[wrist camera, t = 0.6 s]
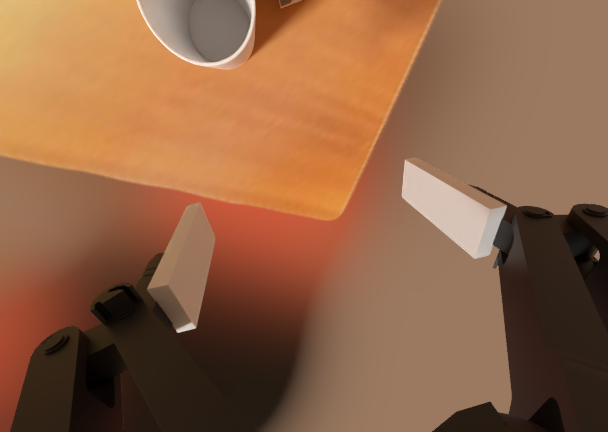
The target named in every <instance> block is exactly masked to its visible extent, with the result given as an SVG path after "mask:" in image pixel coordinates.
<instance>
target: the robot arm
mask: <svg viewBox="0 0 608 432" xmlns="http://www.w3.org/2000/svg"><path fill="white" fill-rule="evenodd" d="M402 198H404V199H405V200H406V201H407V202H408V203H409V204H411V205H412V206H413V207H414V208H415V209H416V210H418V211H419V212H420V213H421V214H423V215H424V216H425V217H426V218H427V219H428V220H429V221H431V222H432V223H433V224H434V225H435V226H437V227H438V228H439V229H440V230H441V231H443V232H444V233H445V234H446V235H447V236H448V237H450V238H451V239H452V240H453V241H454V242H455V243H457V244H458V245H459V246H460V247H461V248H463V249H464V250H465V251H466V252H467V253H469V254H470V255H471V256H472V257H473V258H474V259H475V258H480V257H484V256H488V255H490V252H491V249H492V246H493V245H494V246H496V247H497V248H498V249H500V250H499V253H498V255H497V258H496V261H495V263H494V266H493V268H496V267H497V265H498V266H499V275H500V285H501V294H502V303H503V314H504V323H505V333H506V342H507V352H508V361H509V371H510V380H511V390H512V401H511V406H510V411H509V414H504V413H498V412H497V410H496V409H495V408H494V406H493V405H492V403H491V402H487V403H484V404H481V405H477V406H474V407H471V408H467V409H464V410H461V411H458V412H456V413H454V414H453V415H452V416H451V417H449V418H448V419H447V420H446V421H445V422H443V423H442V424H441V425H440V426H439V427H437V428H436V429H435V430H434V431H432V432H608V208H605V207H603V206H600V205H595V204H578V205H575V206H573V208H572V209H571V211H570V213H569V215H554V214H553V213H551V212H550V211H548V210H545V209H542V208H539V207H532V206H522V207H518V208H517V207H516V206H514V205H512V204H510V203H508V202H506V201H504V200H502V199H500V198H498V197H496V196H494V195H492V194H490V193H487V192H486V191H484V190H483V189H480V188H479V187H475V186H472V185H468V184H465V183H463V182H462V181H460V180H458V179H456V178H454V177H452V176H450V175H448V174H447V173H445V172H443V171H441V170H439V169H437V168H435V167H433V166H431V165H429V164H428V163H426V162H424V161H422V160H420V159H418V158H411V159H406V160H405V166H404V177H403V188H402ZM215 239H216V238H215V236H214V233H213V231H212V229H211V226H210V224H209V221H208V219H207V217H206V215H205V212H204V210H203V208H202V205H201V203H200V202H199V203H195V204H190V205H187V207H186V209H185V211H184V214H183V215H182V217H181V219H180V222H179V224H178V226H177V228H176V230H175V232H174V234H173V236H172V238H171V240H170V242H169V244H168V246H167V248H166V251H165V252H164V253H159V254H157V255H155V257H153V259H151V260H150V261H149V263H148V265H147V267H146V268H145V271H144V272H143V274H142V276H141V278H140V280H139V281H138V284H137V285H136V287H135V288H134V287H133V286H132V285H131V284H129V283H121V284H118V285H115V286H113V287H110V288H108V289H107V290H105V291H104V292H102V293H101V294H100V295H99V296H98V297H97V298H96V299H95V300H94V301H93V303H92V305H91V307H90V308H91V312H92V313H93V314H94V315H95V316H96V317H97V318H98V319H99V320H100V321H101V322H102V324H100V325H98V326H95V327H93V328H91V329H89V330H87V331H85V332H82V331H81V330H80V329H79V328H78V327H75V326H72V327H66V328H63V329H61V330H58V331H57V332H55V333H54V334H52V335H50V336H49V337H47V338H46V339H45V340H44V341H43V342H41V343H40V345H39V346H38V347H37V348H36V349H35V350H34V353H33V354H32V356H31V359H30V362H29V366H28V369H27V373H26V377H25V380H24V384H23V387H22V391H21V394H20V398H19V402H18V405H17V409H16V412H15V416H14V420H13V423H12V427H11V430H10V432H124V424H123V407H122V391H121V373H122V372H124V371H126V370H128V369H129V371H130V373H131V375H132V377H133V379H134V380H135V382H136V384H137V386H138V388H139V390H140V392H141V394H142V395H143V397H144V399H145V401H146V403H147V405H148V407H149V408H150V410H151V412H152V414H153V416H154V418H155V419H156V421H157V423H158V425H159V427H160V429H161V431H162V432H251V430H250V429H249V428H248V427H247V426H246V424H245V423H244V422H243V421H242V420H241V418H240V417H239V416H238V415H237V413H236V412H235V411H234V410H233V408H232V407H231V406H230V405H229V404H228V402H227V401H226V400H225V399H224V397H223V396H222V395H221V394H220V393H219V391H218V390H217V389H216V388H215V386H214V385H213V384H212V383H211V382H210V380H209V379H208V378H207V377H206V376H205V374H204V373H203V372H202V371H201V369H200V368H199V367H198V366H197V365H196V363H195V362H194V361H193V360H192V358H190V356H189V355H188V354H187V352H186V351H185V350H184V349H183V348H182V346H181V345H180V344H179V343H178V341H177V340H176V339H175V338H174V337H173V335H172V334H171V333H170V330H171V327H172V325H173V326H174V328H175V329H176V331H177V332H182V331H187V330H191V329H195V328H196V326H197V321H198V317H199V312H200V308H201V303H202V299H203V294H204V289H205V285H206V280H207V276H208V271H209V267H210V262H211V257H212V252H213V248H214V243H215ZM598 250H599V253H600V259H599V261H598V260H597V259H596V258H595V257H594V255H595V254H596V252H597V251H598Z"/></svg>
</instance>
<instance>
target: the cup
mask: <svg viewBox="0 0 608 432" xmlns="http://www.w3.org/2000/svg"><path fill="white" fill-rule="evenodd" d="M137 3H138V6H139V9H140V11H141V13H142V15H143V17H144V19H145V21H146V23H147V25H148V26H149V28H150V29H151V31H152V32H153V33H154V35H155V36H156V37H157V38H158V39H159V41H160V42H161V43H162V44H163V45H164V46H165V47H166V48H168V49H169V50H170V51H171V52H173V53H174V54H175V55H177V56H178V57H180V58H182V59H183V60H186V61H188V62H190V63H193V64H196V65H200V66H206V67H213V68H219V69H234V68H237V67H239V66H241V65H242V64H244V63H245V62H246V61H247V60H248V58H249V57H250V55H251V53H252V51H253V47H254V42H255V17H256V5H255V0H137Z"/></svg>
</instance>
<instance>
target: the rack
mask: <svg viewBox="0 0 608 432" xmlns="http://www.w3.org/2000/svg"><path fill="white" fill-rule="evenodd" d="M300 1H302V0H278V2H279V5H280V9H282V8H284V7H287V6H289V5H292V4H294V3H297V2H300Z"/></svg>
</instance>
